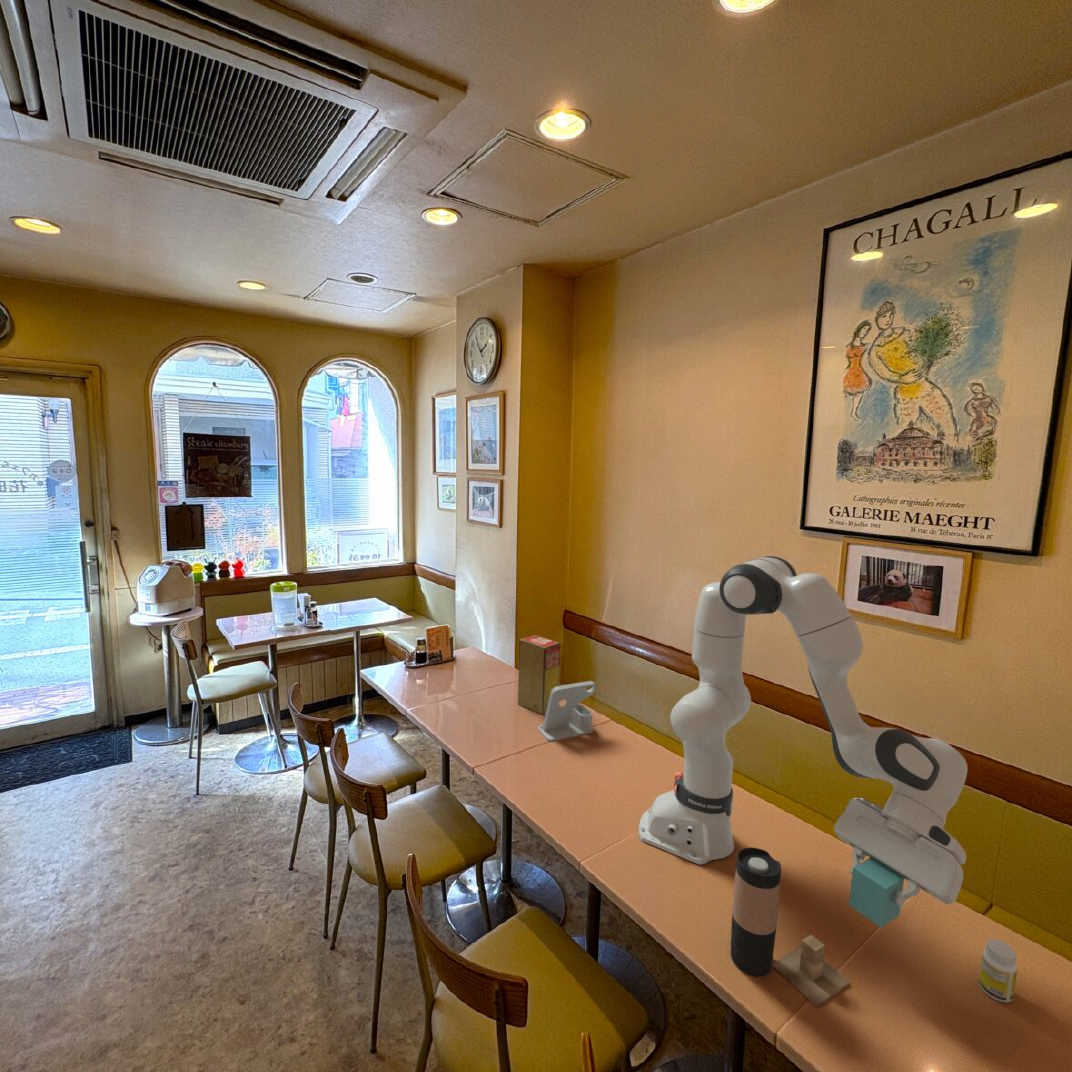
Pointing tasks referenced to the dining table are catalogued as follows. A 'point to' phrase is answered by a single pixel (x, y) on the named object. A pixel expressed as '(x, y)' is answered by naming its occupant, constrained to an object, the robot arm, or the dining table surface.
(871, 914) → the teal rectangular block
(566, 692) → the phone holder
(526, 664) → the food packaging
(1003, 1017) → the dining table surface
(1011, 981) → the supplement bottle
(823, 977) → the flat square base
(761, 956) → the travel mug
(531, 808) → the dining table surface
